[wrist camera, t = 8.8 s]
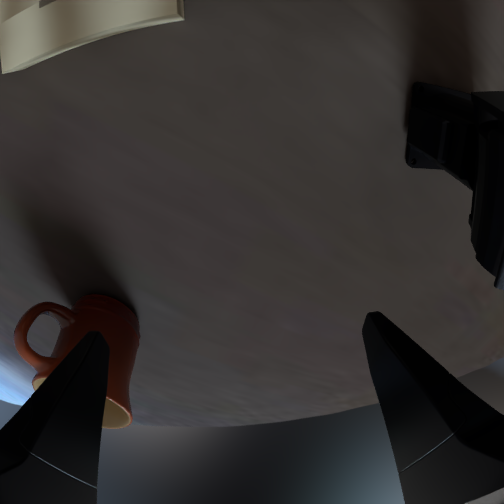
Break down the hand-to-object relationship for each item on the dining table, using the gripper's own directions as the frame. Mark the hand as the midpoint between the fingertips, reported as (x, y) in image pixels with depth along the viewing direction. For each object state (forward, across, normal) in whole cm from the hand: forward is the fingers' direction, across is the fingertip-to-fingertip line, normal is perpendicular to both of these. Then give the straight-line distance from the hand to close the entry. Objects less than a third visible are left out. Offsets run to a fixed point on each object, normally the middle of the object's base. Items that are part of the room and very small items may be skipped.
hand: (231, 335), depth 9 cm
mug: (+13, +14, +11) cm, 22 cm away
